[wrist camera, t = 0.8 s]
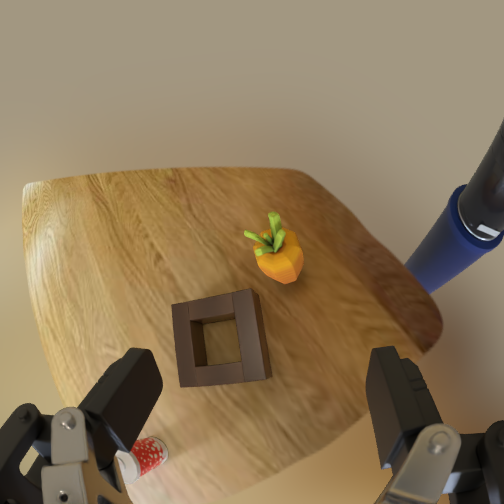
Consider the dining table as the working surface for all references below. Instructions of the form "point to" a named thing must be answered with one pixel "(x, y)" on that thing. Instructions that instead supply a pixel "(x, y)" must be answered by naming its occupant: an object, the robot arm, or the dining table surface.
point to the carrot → (278, 251)
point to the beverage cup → (141, 458)
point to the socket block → (193, 348)
